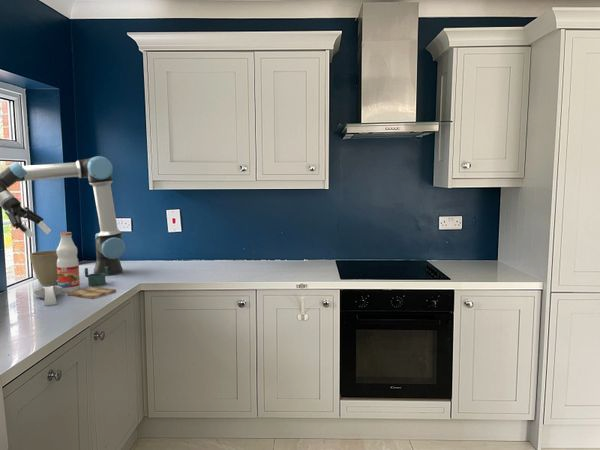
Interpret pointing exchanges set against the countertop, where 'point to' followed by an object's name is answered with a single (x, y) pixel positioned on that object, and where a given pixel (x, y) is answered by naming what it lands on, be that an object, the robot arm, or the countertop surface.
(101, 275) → the bracket
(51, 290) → the spoon rest
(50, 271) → the plant pot
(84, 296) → the brown square board
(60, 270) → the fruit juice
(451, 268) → the countertop surface
